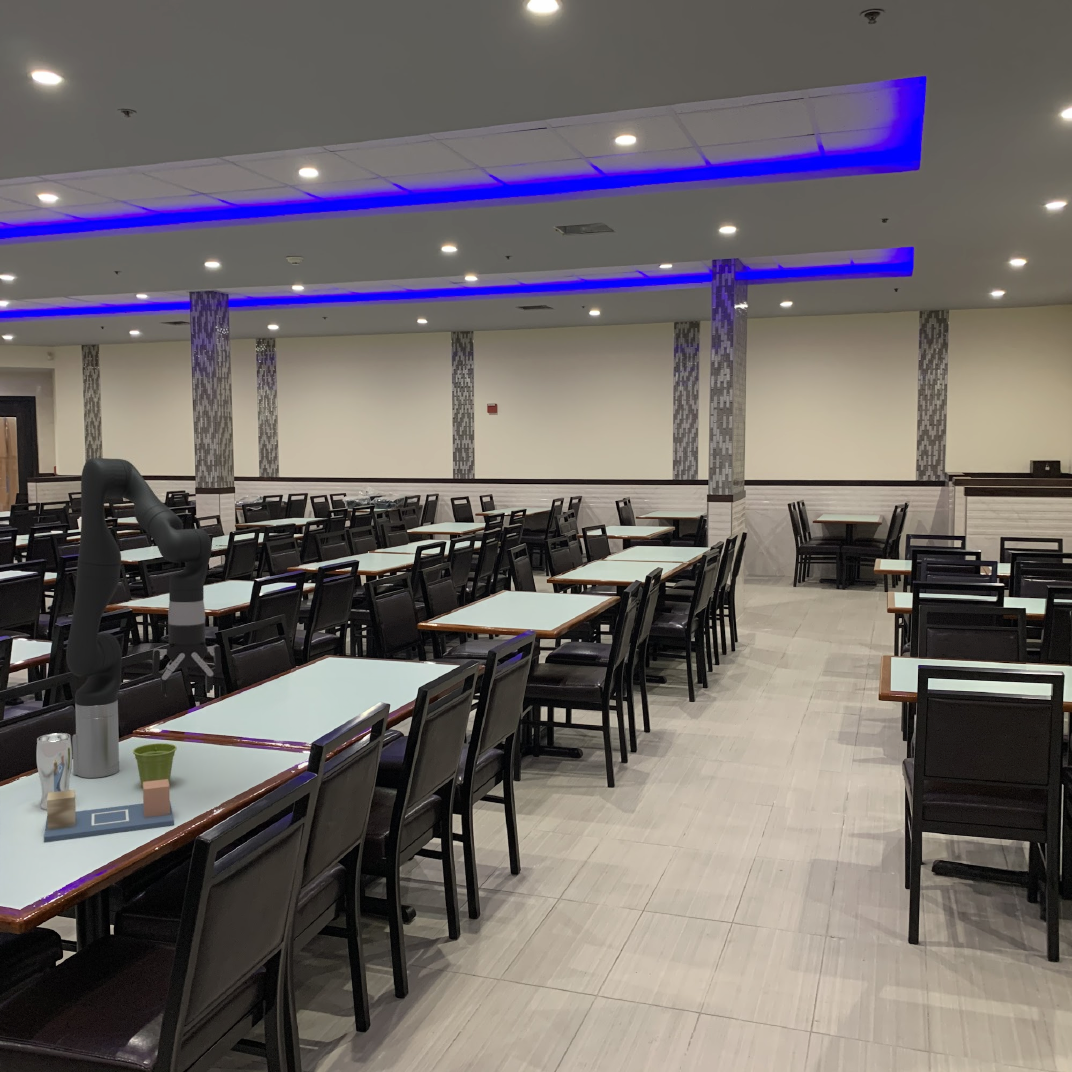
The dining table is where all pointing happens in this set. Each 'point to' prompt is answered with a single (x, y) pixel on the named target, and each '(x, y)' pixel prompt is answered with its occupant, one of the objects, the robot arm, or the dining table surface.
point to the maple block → (61, 809)
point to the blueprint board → (108, 822)
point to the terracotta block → (156, 798)
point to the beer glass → (54, 763)
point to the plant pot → (154, 761)
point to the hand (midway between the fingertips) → (187, 694)
